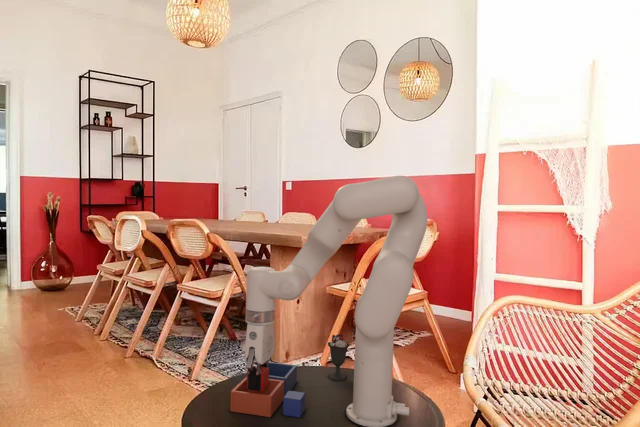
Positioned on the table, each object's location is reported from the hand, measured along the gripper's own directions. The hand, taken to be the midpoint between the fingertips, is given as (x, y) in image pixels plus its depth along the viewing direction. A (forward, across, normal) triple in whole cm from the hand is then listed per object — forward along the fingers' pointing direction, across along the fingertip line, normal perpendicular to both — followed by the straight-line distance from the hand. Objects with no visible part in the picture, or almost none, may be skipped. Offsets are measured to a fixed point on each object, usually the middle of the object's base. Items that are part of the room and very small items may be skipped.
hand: (257, 385), depth 121 cm
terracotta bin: (+5, 0, 0) cm, 5 cm away
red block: (0, 0, 0) cm, 0 cm away
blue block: (+5, -1, -10) cm, 12 cm away
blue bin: (+5, +12, 0) cm, 13 cm away
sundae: (+5, +25, -16) cm, 30 cm away
